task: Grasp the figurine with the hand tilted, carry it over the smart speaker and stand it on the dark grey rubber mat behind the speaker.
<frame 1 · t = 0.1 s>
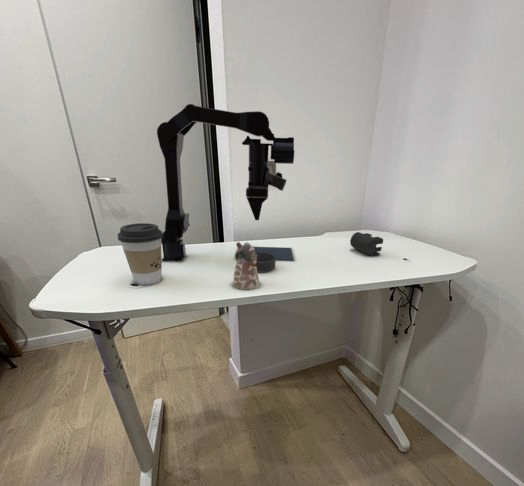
hand: (257, 217, 93), 15 cm above the table, tool pointing down, fingers open, 9 cm apart
mat: (264, 253, 106), on the table
smart speaker: (261, 268, 93), on the table
coffee cup: (148, 280, 83), on the table
figurine: (246, 284, 82), on the table
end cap: (364, 252, 111), on the table
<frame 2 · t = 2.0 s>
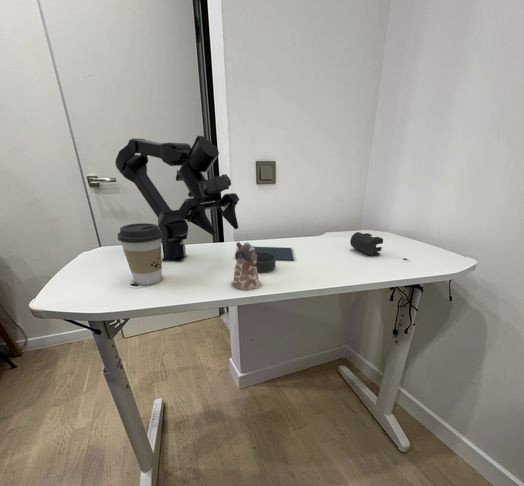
hand: (226, 231, 80), 13 cm above the table, tool tilted 45°, fingers open, 9 cm apart
nothing on the table moved.
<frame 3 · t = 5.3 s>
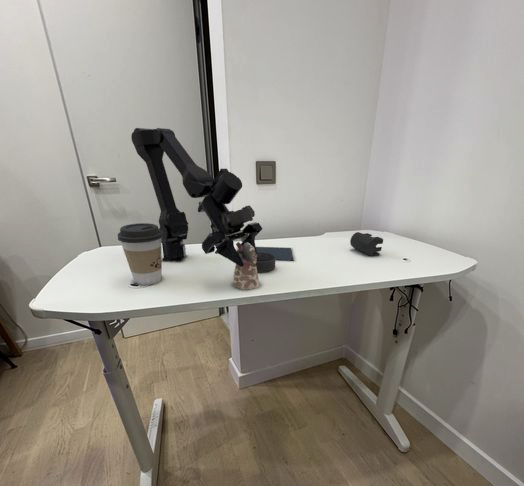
hand: (250, 263, 78), 7 cm above the table, tool tilted 45°, fingers closed on figurine, 6 cm apart
figurine: (246, 284, 82), on the table, touching gripper
everything else where it was.
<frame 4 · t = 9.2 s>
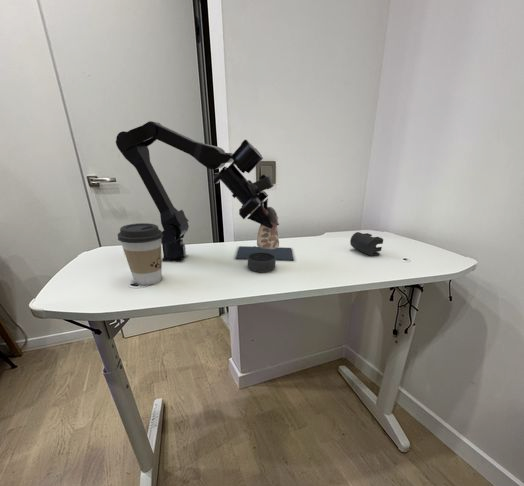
hand: (273, 225, 89), 13 cm above the table, tool tilted 45°, fingers closed on figurine, 6 cm apart
figurine: (267, 246, 92), point 6 cm above the table, touching gripper
everything else where it was.
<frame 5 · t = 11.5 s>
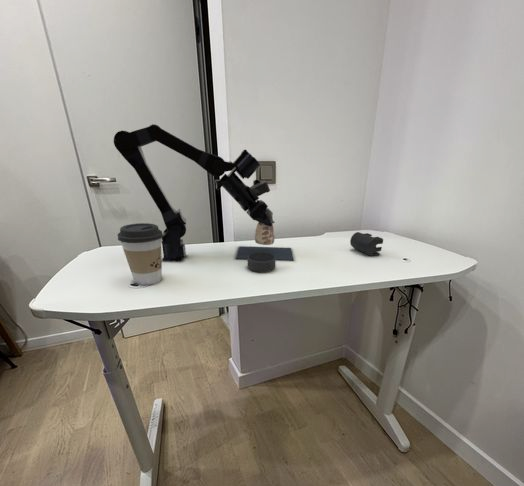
hand: (269, 223, 102), 11 cm above the table, tool tilted 45°, fingers closed on figurine, 6 cm apart
figurine: (264, 242, 105), point 4 cm above the table, touching gripper
everything else where it was.
when the fingers open (7 cm above the table, at t = 13.1 s): figurine stays where it is, resting on mat.
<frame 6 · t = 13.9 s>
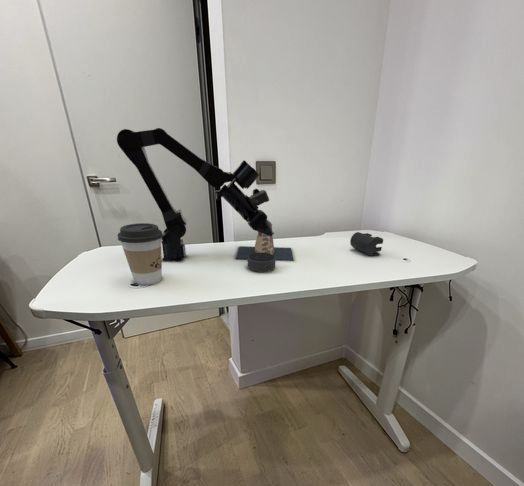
hand: (268, 232, 103), 8 cm above the table, tool tilted 45°, fingers open, 9 cm apart
figurine: (264, 253, 106), resting on mat
everything else where it was.
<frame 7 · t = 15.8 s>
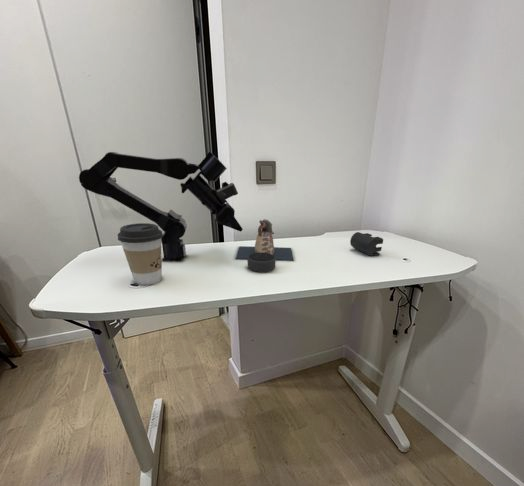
hand: (239, 227, 99), 10 cm above the table, tool tilted 45°, fingers open, 9 cm apart
nothing on the table moved.
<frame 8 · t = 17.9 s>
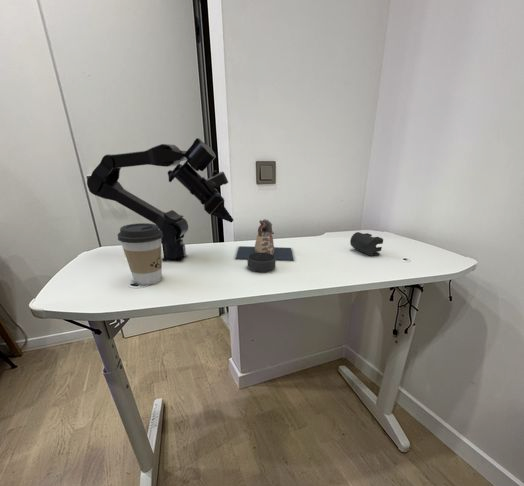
hand: (230, 218, 95), 14 cm above the table, tool tilted 45°, fingers open, 9 cm apart
nothing on the table moved.
at the end: figurine inside the target area on the mat (0.1 cm from its centre), point 0.2 cm above the mat's base; figurine inside the target area on the table beside the smart speaker (1.4 cm from its centre), on the table; figurine tilted 0° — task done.
